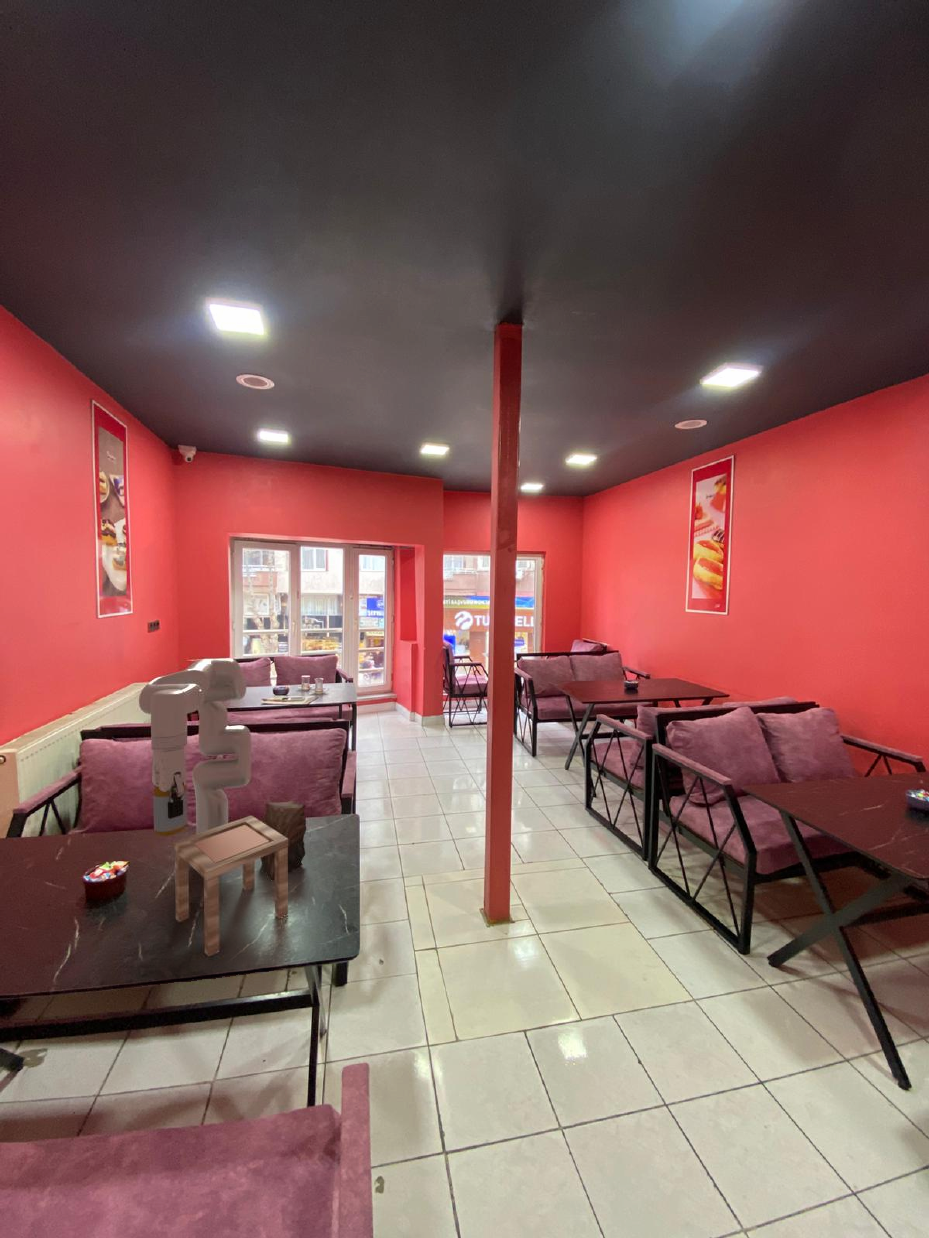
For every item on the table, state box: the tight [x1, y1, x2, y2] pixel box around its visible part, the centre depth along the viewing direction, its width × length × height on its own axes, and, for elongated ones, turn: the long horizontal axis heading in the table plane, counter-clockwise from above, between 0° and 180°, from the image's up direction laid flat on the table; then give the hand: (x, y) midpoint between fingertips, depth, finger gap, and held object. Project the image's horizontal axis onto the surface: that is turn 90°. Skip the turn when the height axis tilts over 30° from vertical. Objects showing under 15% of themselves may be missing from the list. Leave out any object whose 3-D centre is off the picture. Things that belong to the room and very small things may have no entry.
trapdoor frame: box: [173, 815, 289, 957], centre depth 128 cm, size 21×21×21 cm
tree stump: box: [260, 800, 307, 882], centre depth 153 cm, size 13×13×20 cm
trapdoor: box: [193, 825, 269, 863], centre depth 128 cm, size 14×14×1 cm
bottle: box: [152, 772, 188, 837], centre depth 118 cm, size 7×7×15 cm
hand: (170, 811), depth 118 cm, fingers closed on bottle, 6 cm apart
